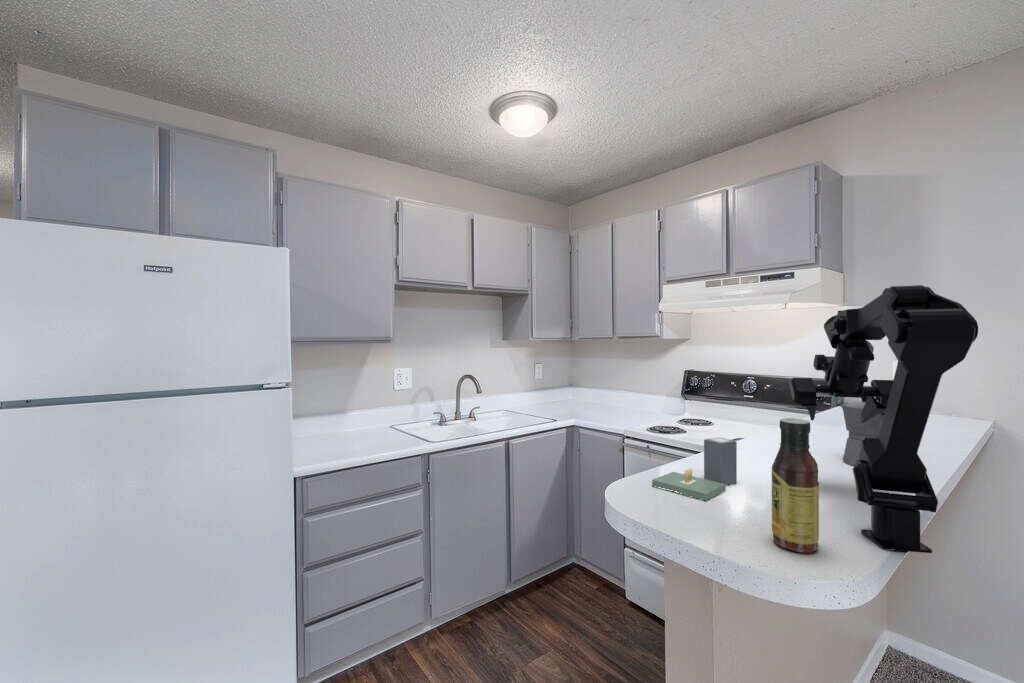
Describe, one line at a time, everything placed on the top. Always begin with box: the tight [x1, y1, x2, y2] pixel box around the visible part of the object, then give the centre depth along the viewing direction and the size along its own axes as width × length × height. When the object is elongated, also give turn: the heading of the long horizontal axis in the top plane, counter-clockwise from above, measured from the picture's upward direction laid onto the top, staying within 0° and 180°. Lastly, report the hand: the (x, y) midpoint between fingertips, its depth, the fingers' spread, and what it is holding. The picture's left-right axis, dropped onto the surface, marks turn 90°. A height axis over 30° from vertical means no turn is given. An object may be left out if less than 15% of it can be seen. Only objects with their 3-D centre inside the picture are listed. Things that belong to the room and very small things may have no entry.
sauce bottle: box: [771, 417, 820, 554], centre depth 69 cm, size 6×6×20 cm
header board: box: [651, 468, 727, 502], centre depth 96 cm, size 12×9×4 cm
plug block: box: [703, 437, 738, 486], centre depth 100 cm, size 4×5×10 cm
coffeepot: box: [839, 396, 885, 467], centre depth 113 cm, size 15×9×18 cm, turn 14°
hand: (836, 420), depth 97 cm, fingers open, 9 cm apart
